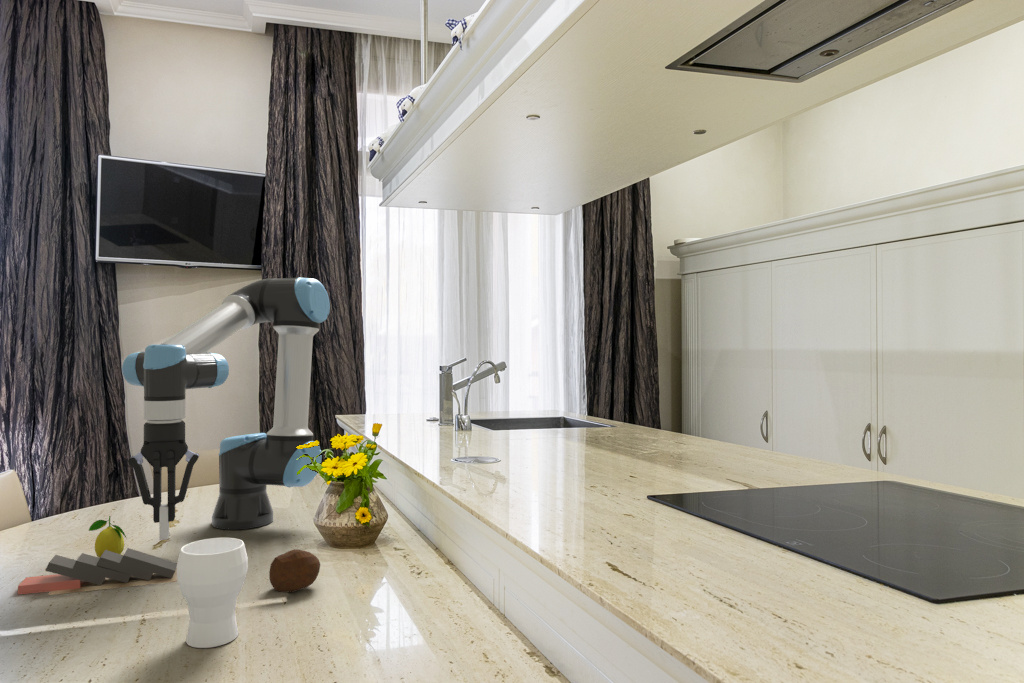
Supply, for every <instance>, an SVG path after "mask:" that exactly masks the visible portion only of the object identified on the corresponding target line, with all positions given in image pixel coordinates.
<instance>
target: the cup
mask: <svg viewBox="0 0 1024 683" xmlns="http://www.w3.org/2000/svg"><path fill="white" fill-rule="evenodd" d="M248 562H249V558H248V554H247V549H246V544H245V543H244V541H243V540H242V539H239V538H235V537H212V538H204V539H200V540H195V541H192V542H190V543H186V544H185V545H182V547H181V548H180V549H179V554H178V558H177V562H176V563H177V567H176V568H177V581H176V582H177V585H178V587H179V590H180V593H181V595H182V597H183V598H184V600H185V601H186V603H187V605H188V606H187V608H188V613H189V621H188V627H187V634H186V639H185V640H186V645H188V646H190V647H192V648H197V649H207V648H215V647H220V646H224V645H226V644H229V643H230V642H232V641H234V640H235V639H236V638H238V636H239V630H238V623H237V617H236V616H237V615H236V608H237V601H238V596H239V595H240V592H241V591H242V588H243V586H244V583H245V581H246V577H247V575H248V569H249V567H248V566H249V563H248Z"/></svg>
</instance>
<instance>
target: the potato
mask: <svg viewBox="0 0 1024 683" xmlns="http://www.w3.org/2000/svg"><path fill="white" fill-rule="evenodd" d="M320 570H321V562H320V560H319V558H318V557H317V556H316V555H315V554H313V553H311V552H310V551H306V550H301V549H298V548H297V549H295V548H294V549H291V550H288V551H285V553H281V554H280V555H277V556H275V557H274V558H273V560H272V561H271V563H270V567H269V575H268V578H269V582H270V585H271V586H272V588H273V589H274V590H275V591H277V592H283V593H285V592H287V593H288V594H289V593H293V592H296V591H300V590H303V589H307V588H308V587H309V586H311V585H313V583H314V582H315V581H316V580H317V577H318V576H319V575H320V574H319V573H320Z"/></svg>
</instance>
